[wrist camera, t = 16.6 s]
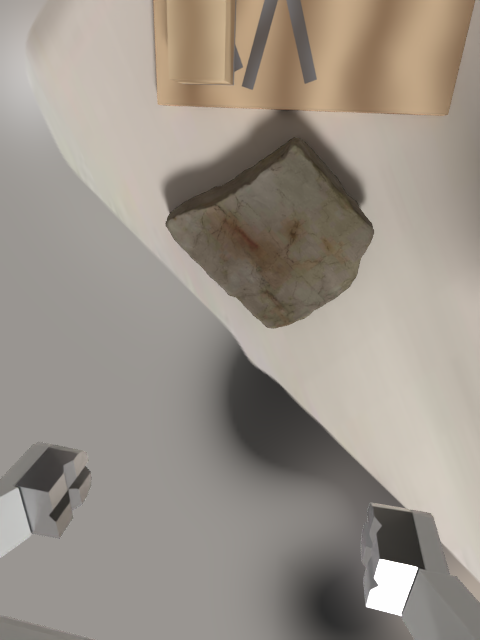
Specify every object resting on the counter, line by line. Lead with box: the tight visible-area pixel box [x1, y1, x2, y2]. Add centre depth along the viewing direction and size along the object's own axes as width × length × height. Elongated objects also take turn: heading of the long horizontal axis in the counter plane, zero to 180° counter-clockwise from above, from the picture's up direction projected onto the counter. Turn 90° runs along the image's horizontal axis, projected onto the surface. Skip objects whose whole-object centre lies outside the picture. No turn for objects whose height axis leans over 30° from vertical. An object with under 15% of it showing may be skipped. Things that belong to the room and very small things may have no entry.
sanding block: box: [167, 0, 236, 85], centre depth 30 cm, size 4×7×4 cm, turn 178°
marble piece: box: [166, 138, 374, 328], centre depth 38 cm, size 17×15×4 cm
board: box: [153, 0, 475, 116], centre depth 32 cm, size 24×10×2 cm, turn 88°
